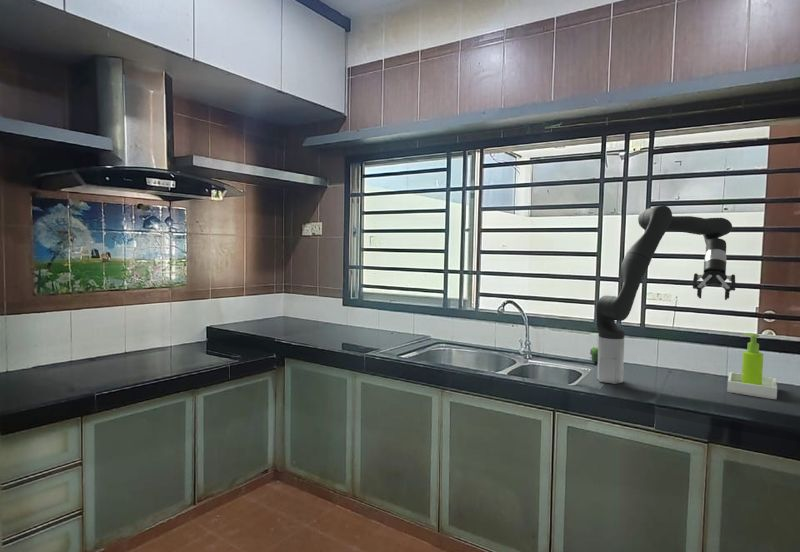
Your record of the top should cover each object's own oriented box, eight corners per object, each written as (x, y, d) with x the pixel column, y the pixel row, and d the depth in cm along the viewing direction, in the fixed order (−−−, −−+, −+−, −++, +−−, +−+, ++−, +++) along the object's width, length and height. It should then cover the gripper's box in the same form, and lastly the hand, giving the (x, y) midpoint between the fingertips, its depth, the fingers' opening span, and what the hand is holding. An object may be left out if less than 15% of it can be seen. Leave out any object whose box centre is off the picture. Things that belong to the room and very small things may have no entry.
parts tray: (776, 399, 162) (777, 388, 162) (727, 392, 170) (727, 381, 170) (774, 388, 175) (775, 378, 175) (728, 382, 183) (729, 372, 183)
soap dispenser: (750, 385, 176) (753, 332, 175) (765, 390, 170) (768, 335, 168) (735, 385, 176) (737, 332, 175) (749, 390, 169) (752, 335, 168)
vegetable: (598, 346, 209) (592, 339, 228) (590, 360, 210) (584, 351, 229) (614, 355, 207) (606, 346, 226) (605, 369, 208) (598, 359, 228)
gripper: (694, 258, 194) (691, 293, 188) (736, 258, 185) (735, 295, 179) (694, 267, 199) (692, 301, 193) (736, 267, 191) (734, 303, 185)
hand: (712, 298), depth 186 cm, fingers open, 8 cm apart
